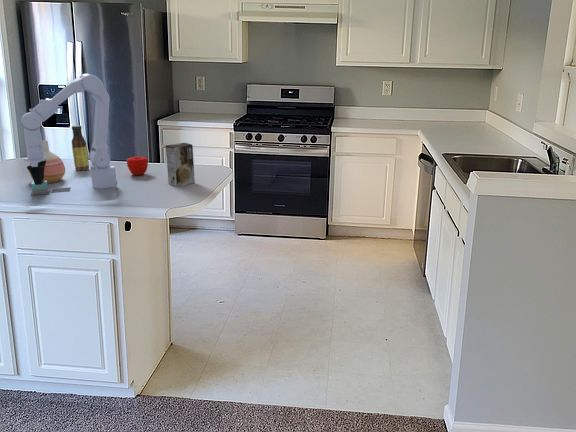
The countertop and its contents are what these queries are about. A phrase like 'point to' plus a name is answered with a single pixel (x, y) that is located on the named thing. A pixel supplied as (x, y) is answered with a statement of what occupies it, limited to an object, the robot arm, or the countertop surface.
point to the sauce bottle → (79, 149)
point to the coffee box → (180, 164)
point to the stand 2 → (61, 190)
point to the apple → (137, 165)
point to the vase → (52, 165)
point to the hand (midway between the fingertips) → (39, 182)
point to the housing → (39, 188)
